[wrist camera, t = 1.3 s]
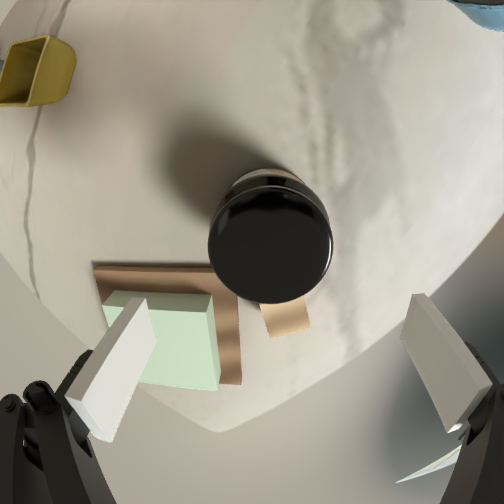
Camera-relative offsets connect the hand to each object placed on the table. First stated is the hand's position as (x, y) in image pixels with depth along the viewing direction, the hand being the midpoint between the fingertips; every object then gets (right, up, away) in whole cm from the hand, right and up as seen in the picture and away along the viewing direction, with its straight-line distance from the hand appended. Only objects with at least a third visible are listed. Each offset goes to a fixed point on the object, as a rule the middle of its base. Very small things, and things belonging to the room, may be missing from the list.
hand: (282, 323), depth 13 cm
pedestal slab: (-13, -8, +25) cm, 29 cm away
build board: (-13, -8, +26) cm, 30 cm away
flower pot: (-28, +27, +13) cm, 41 cm away
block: (+3, -2, +23) cm, 23 cm away
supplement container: (+1, +8, +19) cm, 21 cm away
